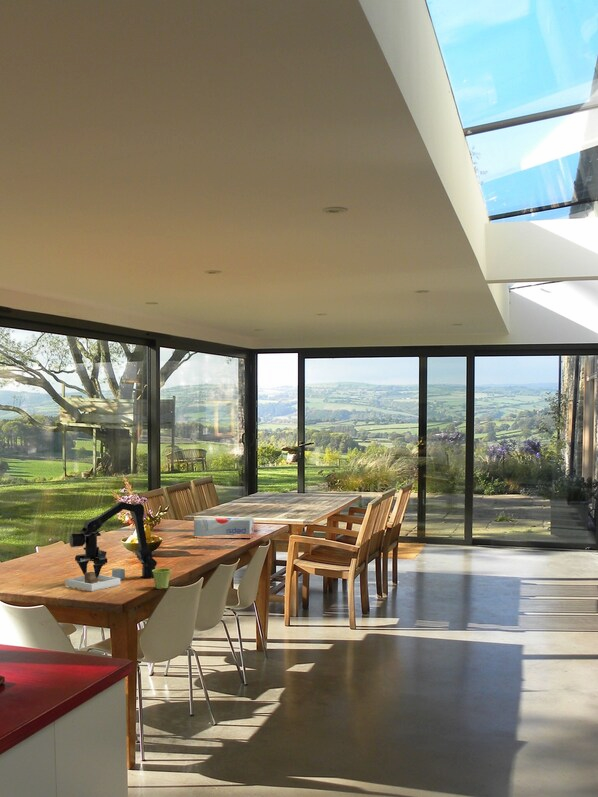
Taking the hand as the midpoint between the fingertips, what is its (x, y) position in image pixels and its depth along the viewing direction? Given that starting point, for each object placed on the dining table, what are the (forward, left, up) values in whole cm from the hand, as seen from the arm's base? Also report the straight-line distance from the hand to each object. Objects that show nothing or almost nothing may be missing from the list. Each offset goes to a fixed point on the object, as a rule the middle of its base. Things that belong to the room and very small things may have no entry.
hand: (91, 576), depth 393 cm
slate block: (-1, -17, -4) cm, 18 cm away
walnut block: (0, 0, -3) cm, 3 cm away
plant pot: (-35, -15, -4) cm, 38 cm away
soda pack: (+47, -154, -4) cm, 161 cm away
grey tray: (-4, +2, -4) cm, 6 cm away
